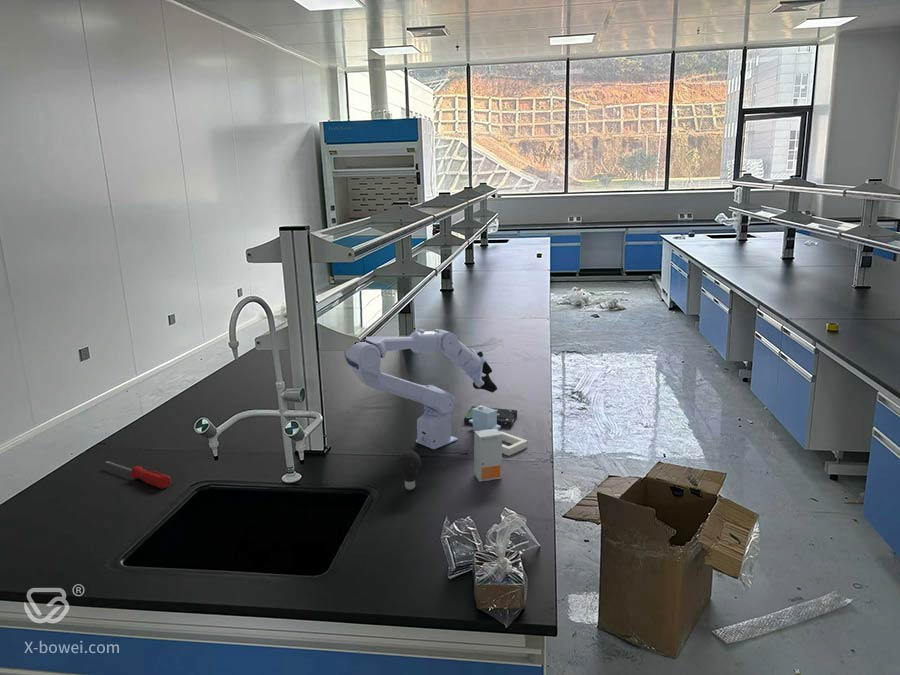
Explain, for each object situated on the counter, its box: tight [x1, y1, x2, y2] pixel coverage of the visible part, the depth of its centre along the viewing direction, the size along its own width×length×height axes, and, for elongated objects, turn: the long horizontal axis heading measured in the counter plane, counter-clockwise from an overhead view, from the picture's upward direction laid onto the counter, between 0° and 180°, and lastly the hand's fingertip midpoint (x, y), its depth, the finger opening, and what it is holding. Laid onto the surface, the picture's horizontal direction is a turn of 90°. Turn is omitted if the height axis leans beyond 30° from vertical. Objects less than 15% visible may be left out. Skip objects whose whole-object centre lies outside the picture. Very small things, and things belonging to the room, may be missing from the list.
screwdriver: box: [105, 460, 172, 490], centre depth 163 cm, size 4×25×4 cm, turn 59°
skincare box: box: [473, 429, 503, 483], centre depth 158 cm, size 6×4×12 cm
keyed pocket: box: [499, 431, 528, 457], centre depth 177 cm, size 8×10×2 cm
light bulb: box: [397, 449, 422, 491], centre depth 153 cm, size 6×6×10 cm
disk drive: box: [463, 406, 518, 429], centre depth 197 cm, size 10×3×15 cm
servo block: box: [469, 405, 502, 432], centre depth 187 cm, size 4×10×8 cm, turn 44°
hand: (492, 381), depth 190 cm, fingers open, 7 cm apart
